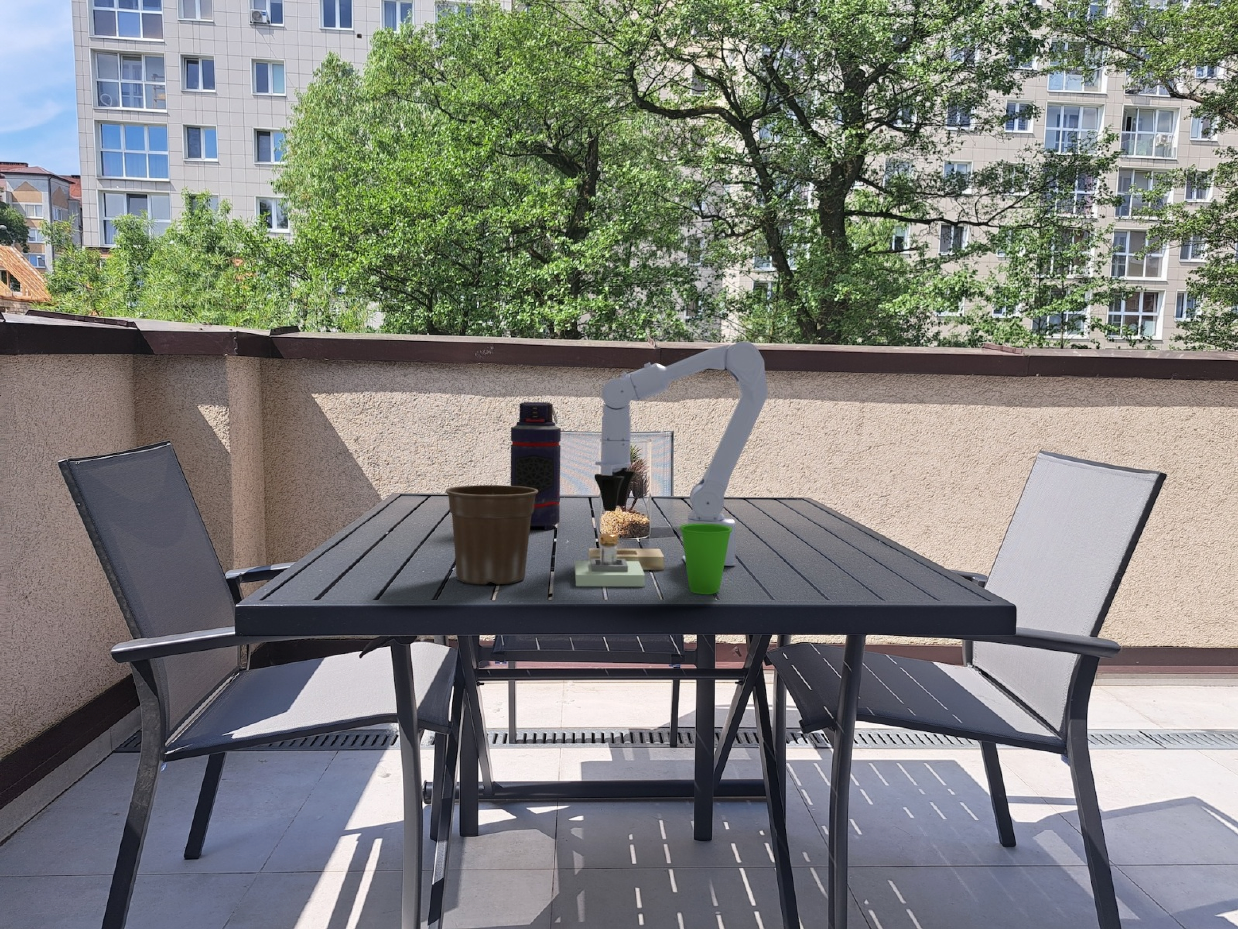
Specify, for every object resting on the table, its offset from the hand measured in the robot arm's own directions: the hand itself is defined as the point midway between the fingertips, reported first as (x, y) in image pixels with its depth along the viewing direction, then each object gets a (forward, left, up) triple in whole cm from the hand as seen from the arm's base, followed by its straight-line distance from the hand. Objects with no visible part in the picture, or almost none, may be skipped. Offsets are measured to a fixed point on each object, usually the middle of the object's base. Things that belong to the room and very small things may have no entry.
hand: (614, 508), depth 180 cm
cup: (-14, +26, -11) cm, 31 cm away
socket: (+2, +17, -10) cm, 20 cm away
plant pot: (+23, +17, -11) cm, 31 cm away
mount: (-2, +5, -10) cm, 12 cm away
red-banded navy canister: (+17, -41, -11) cm, 45 cm away
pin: (+2, +17, -10) cm, 20 cm away
